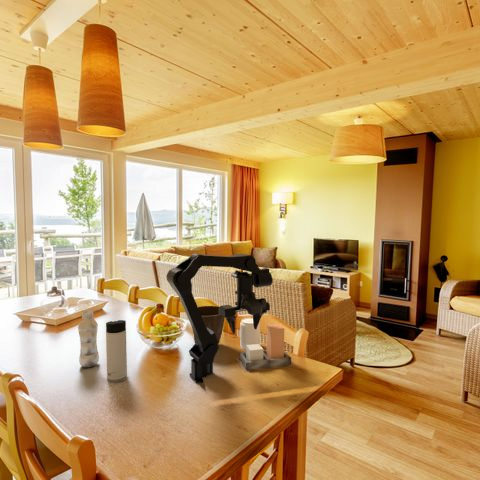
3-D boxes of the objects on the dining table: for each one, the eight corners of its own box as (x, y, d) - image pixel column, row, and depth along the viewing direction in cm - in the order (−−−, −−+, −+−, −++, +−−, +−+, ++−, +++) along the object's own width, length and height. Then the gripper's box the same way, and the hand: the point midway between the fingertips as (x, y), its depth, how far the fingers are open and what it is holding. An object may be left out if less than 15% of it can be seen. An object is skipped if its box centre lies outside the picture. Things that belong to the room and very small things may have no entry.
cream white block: (249, 366, 118) (250, 350, 117) (245, 360, 123) (246, 345, 122) (263, 365, 119) (263, 349, 119) (258, 359, 124) (258, 343, 123)
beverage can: (258, 353, 132) (258, 324, 131) (238, 352, 133) (238, 322, 132) (261, 346, 140) (261, 318, 139) (242, 344, 141) (242, 316, 140)
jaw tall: (270, 364, 120) (271, 329, 119) (266, 358, 125) (266, 324, 124) (283, 362, 121) (284, 328, 120) (279, 357, 126) (279, 323, 125)
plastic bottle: (103, 363, 122) (101, 310, 121) (87, 371, 116) (86, 315, 114) (90, 360, 125) (89, 308, 123) (75, 367, 119) (73, 313, 117)
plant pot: (182, 352, 132) (182, 313, 131) (200, 339, 146) (200, 304, 145) (215, 358, 127) (215, 318, 126) (231, 344, 141) (231, 307, 139)
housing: (244, 374, 114) (244, 364, 114) (236, 361, 125) (236, 351, 124) (294, 368, 119) (294, 358, 119) (282, 355, 130) (282, 346, 129)
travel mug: (108, 385, 107) (106, 324, 105) (106, 376, 112) (104, 318, 111) (128, 380, 110) (127, 321, 108) (125, 372, 115) (124, 316, 114)
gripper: (233, 296, 107) (233, 343, 108) (279, 290, 117) (278, 333, 118) (217, 290, 117) (217, 333, 118) (261, 284, 126) (261, 324, 127)
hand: (244, 331), depth 120 cm, fingers open, 9 cm apart
